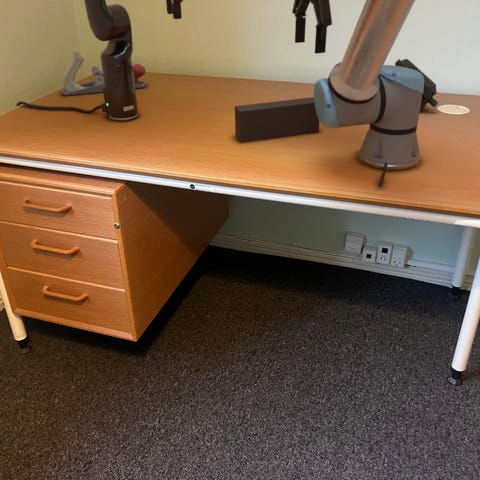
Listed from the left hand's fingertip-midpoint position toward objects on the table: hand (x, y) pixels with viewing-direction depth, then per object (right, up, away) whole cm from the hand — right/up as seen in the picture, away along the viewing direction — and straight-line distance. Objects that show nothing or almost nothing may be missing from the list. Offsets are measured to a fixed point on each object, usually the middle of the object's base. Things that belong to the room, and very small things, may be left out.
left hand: (174, 16), depth 146 cm
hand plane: (-32, -5, +53) cm, 62 cm away
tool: (+72, -18, +29) cm, 80 cm away
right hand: (+37, -9, 0) cm, 38 cm away
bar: (+29, -30, +10) cm, 43 cm away
